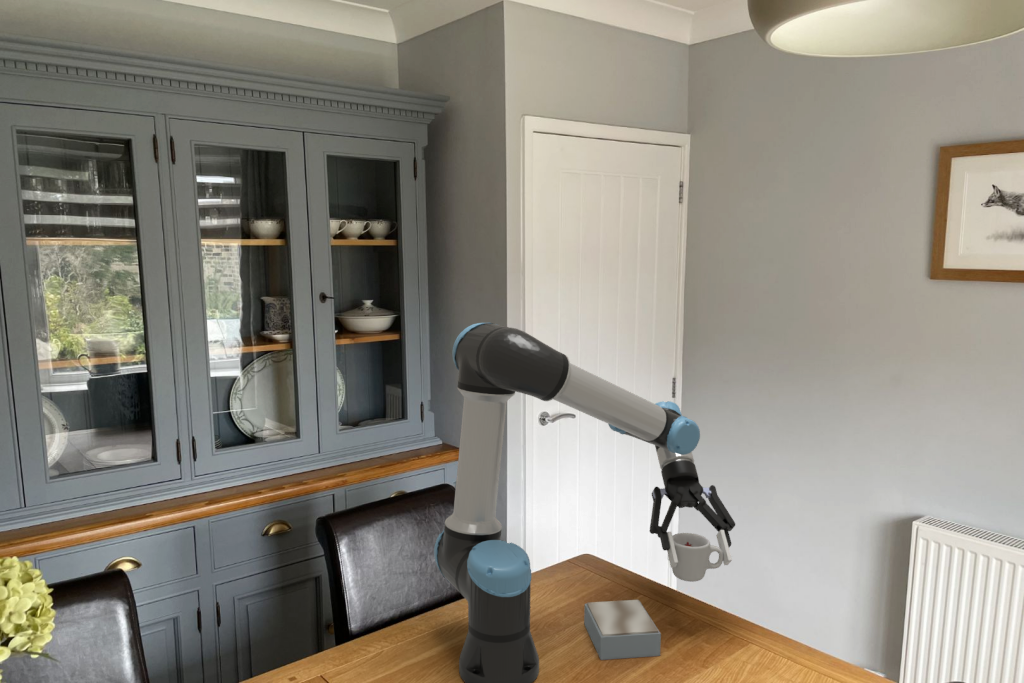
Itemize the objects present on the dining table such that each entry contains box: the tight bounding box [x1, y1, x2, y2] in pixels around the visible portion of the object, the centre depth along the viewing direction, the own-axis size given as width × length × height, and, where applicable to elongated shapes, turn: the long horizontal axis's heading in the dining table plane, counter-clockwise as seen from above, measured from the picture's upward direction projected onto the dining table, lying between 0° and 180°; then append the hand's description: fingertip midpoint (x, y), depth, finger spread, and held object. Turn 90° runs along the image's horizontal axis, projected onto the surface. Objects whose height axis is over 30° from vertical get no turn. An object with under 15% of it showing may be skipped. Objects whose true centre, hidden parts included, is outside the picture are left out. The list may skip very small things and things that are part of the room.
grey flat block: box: [583, 599, 662, 661], centre depth 152 cm, size 12×14×5 cm
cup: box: [671, 532, 723, 583], centre depth 153 cm, size 11×8×8 cm
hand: (701, 563), depth 150 cm, fingers closed on cup, 11 cm apart
